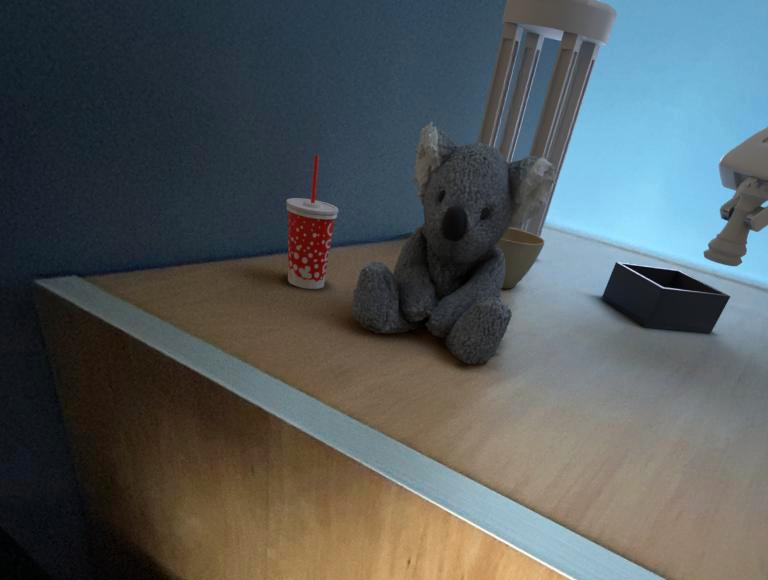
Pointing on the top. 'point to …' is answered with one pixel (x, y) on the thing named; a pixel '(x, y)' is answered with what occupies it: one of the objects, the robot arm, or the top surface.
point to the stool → (574, 29)
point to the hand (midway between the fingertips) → (736, 220)
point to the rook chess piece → (736, 228)
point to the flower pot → (518, 254)
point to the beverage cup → (309, 238)
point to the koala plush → (455, 247)
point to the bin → (664, 298)
